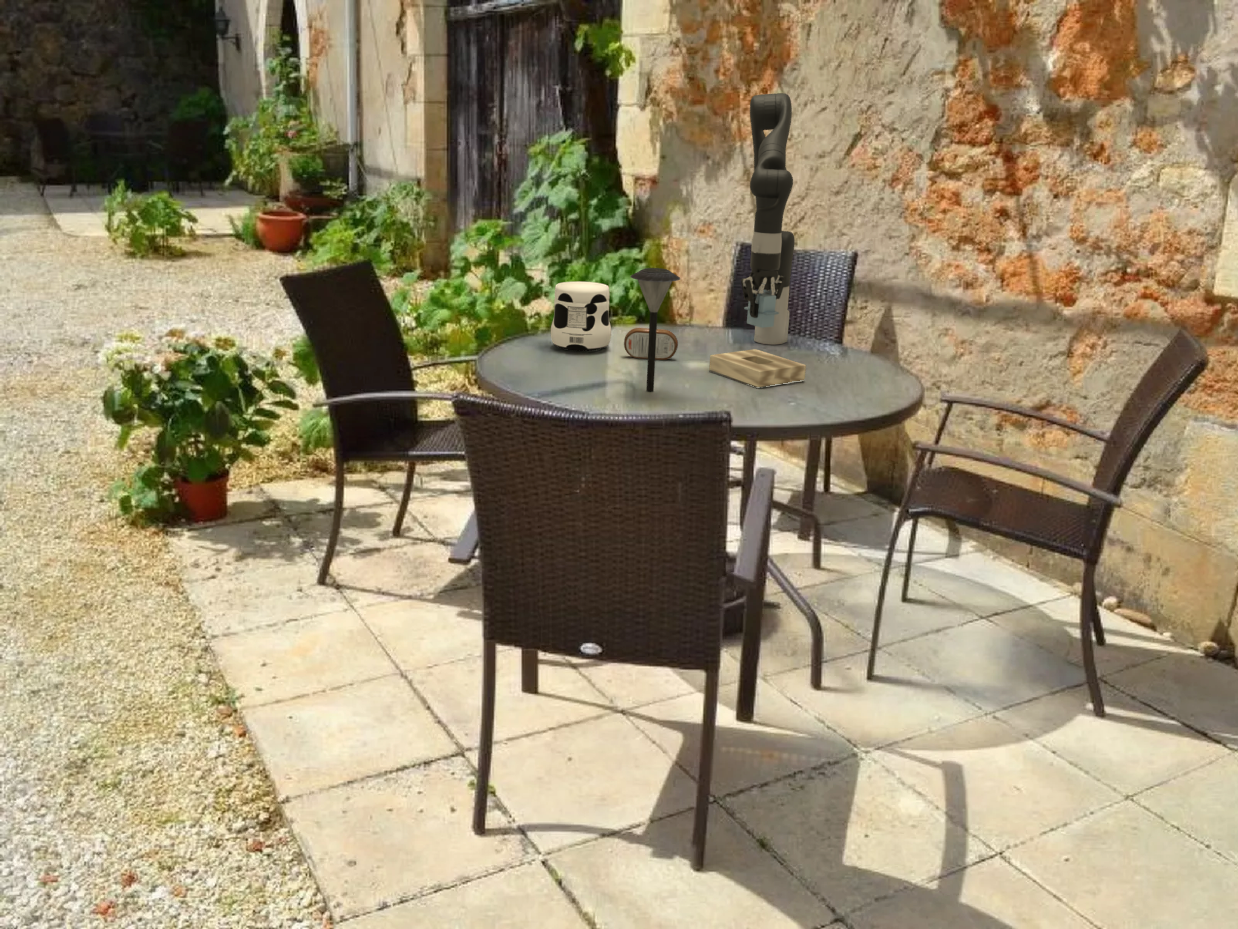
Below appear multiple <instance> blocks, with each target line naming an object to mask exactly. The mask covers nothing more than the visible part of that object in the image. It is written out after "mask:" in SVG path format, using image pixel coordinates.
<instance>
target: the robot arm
mask: <svg viewBox="0 0 1238 929" xmlns="http://www.w3.org/2000/svg"><path fill="white" fill-rule="evenodd" d="M792 109H793V108H792V100H791V96H790V95H789V94H787V93H785V92H783V93H782V92H781V93H779V92H778V93H765V94H763V93H762V94H755V95H753V96H752V97H751V98H750V102H749V117H750V118H749V119H750V127H751V138H752V146H753V147H752V148H753V173H752V176H751V178H750V182H749V189H750V191H751V194H752V195H753V196H754V197H755V206H756V207H755V208H756V211H755V214H754V222H753V235H752V238H751V250H750V262H749V263H750V264H749V266H750V268H751V272H750V274H749V277H746V278H741V279H740V283H741V289H742V294H743V298H744V299H743V300H745V301H748V302H750V315H751V317H754V318H757V317H758V309H759V304H758V302H759V299H760V296H761V295H762V293H767V294H770V295H775V296H776V304H775V311H776V312H779V314H776V315H775V316H774V326H773V327H764V328H761V327H758V326H754V336H753V341H754V342H756V343H758V344H764V345H782V344H783V345H784V344H785V343H787V342H788V335H789V334H788V333H789V323H790V310H788V309H789V307H788V306H789V297H790V296H789V294H790V287H791V286H790V284H791V276H792V267H793V266H792V265H793V258H794V253H795V252H794V251H795V245H796V244H795V242H796V241H795V235H794V233H793V232H791V231H790V230H789V231H788V230H782V229H783V220H784V213H785V210H786V206H787V203H788V200H789V197H790V195H791V192H792V189H793V187H794V186H793V185H794V177H793V175H792V173H791V172H790V170H787V166H786V164H787V160H786V158H787V145H788V144H787V143H788V140H789V135H790V130H791V129H790V128H791V124H792V117H793V116H792V114H793V111H792ZM765 131H770V133H769V132H768V134H767V135H766V134H765ZM755 294H756V296H755Z"/></svg>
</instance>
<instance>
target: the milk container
mask: <svg viewBox="0 0 1238 929" xmlns="http://www.w3.org/2000/svg"><path fill="white" fill-rule="evenodd" d="M553 301H554V302H553V304H554V307H553V308H554V309H553V310H554V315H553V320H552V322H551V326H550V336H551V341H552V344H553V345H554V346H555V347H557V348H559V349H561V350H566V351H571V352H582V353H583V352H585V353H586V352H594V351H601V350H602V349H606V347H609V345H610V343H611V338H612V327H611V323H610V316H609V314H610V312H609V311H610V288H609V285H607V284H605V283H600V282H594V281H579V280H578V281H563V282H559V283H557V284H555V289H554V300H553Z"/></svg>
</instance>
